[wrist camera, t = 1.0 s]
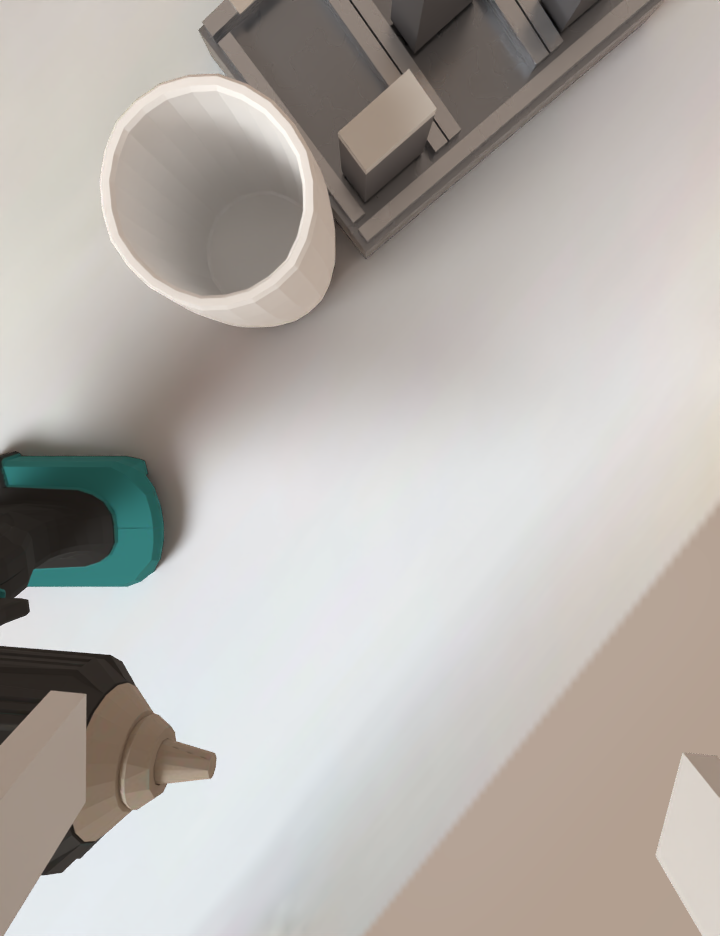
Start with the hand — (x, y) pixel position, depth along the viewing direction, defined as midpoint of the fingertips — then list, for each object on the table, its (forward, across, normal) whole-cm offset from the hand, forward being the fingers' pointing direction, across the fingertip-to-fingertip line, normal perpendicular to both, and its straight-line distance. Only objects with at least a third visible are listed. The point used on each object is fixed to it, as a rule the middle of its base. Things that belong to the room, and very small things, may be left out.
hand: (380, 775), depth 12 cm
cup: (+25, -8, +14) cm, 29 cm away
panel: (+25, 0, +27) cm, 36 cm away
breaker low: (+22, -1, +19) cm, 29 cm away
